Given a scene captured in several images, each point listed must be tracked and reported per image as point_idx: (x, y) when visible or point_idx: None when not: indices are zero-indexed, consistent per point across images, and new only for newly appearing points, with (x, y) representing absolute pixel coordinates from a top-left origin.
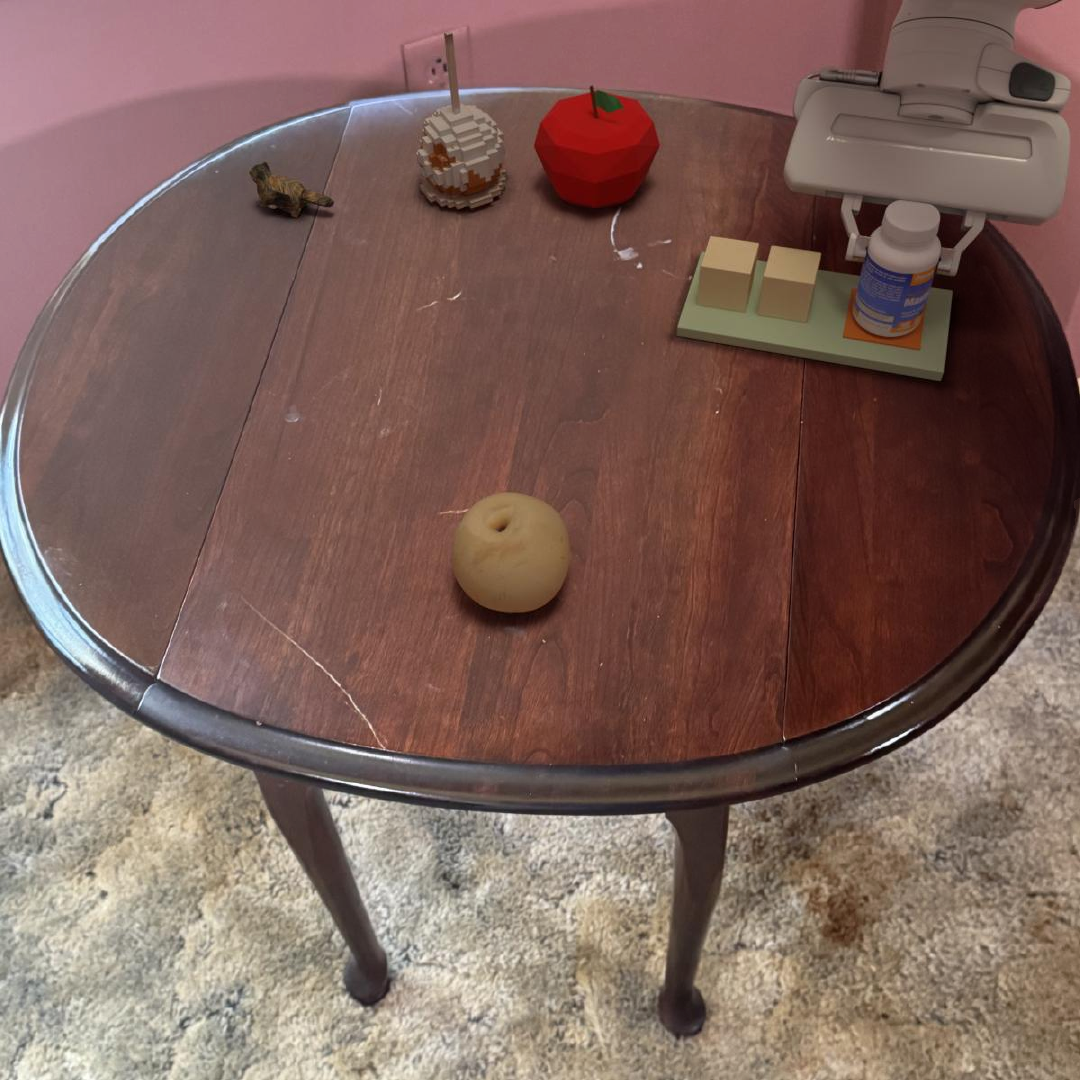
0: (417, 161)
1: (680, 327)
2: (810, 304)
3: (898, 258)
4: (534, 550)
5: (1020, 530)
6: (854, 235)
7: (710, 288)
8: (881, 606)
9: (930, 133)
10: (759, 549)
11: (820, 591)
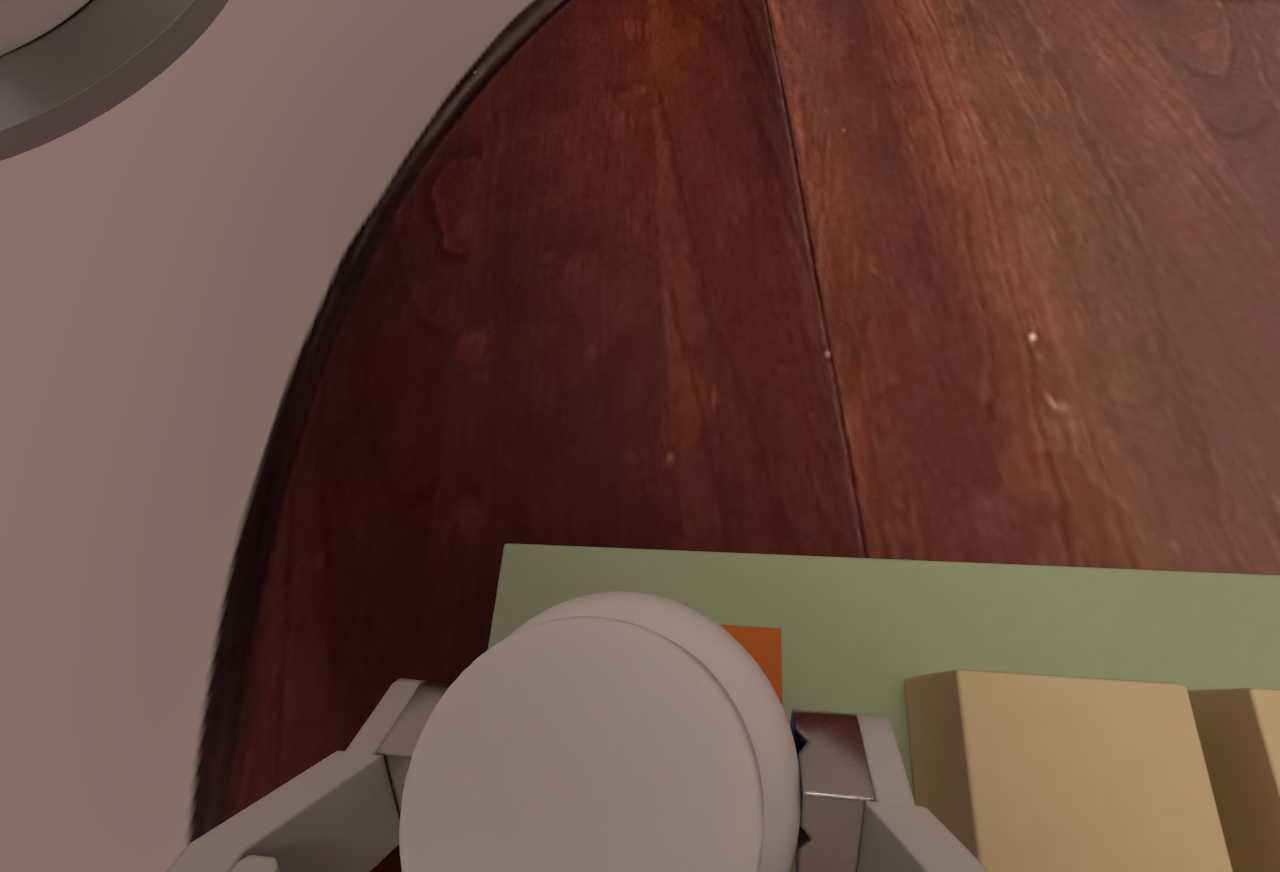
0: None
1: None
2: (920, 714)
3: (645, 609)
4: None
5: (413, 219)
6: (890, 794)
7: None
8: (635, 54)
9: None
10: (838, 81)
11: (727, 49)
